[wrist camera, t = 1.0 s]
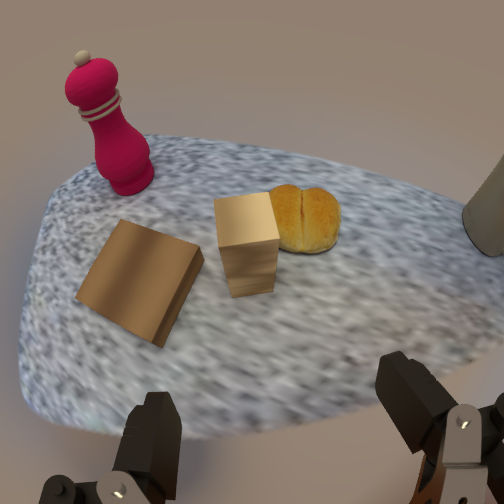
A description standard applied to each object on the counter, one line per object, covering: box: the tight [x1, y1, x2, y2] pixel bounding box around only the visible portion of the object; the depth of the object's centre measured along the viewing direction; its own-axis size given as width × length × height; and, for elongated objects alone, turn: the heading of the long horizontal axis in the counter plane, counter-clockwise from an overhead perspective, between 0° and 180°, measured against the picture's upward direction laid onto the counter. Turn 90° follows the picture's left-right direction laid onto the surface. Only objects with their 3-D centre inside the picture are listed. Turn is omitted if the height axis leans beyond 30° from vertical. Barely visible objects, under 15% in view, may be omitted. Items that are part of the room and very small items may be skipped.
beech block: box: [214, 192, 280, 298], centre depth 23 cm, size 4×4×10 cm
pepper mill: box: [65, 50, 154, 196], centre depth 26 cm, size 7×7×20 cm
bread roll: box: [269, 184, 341, 254], centre depth 29 cm, size 8×9×4 cm
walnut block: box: [75, 219, 204, 348], centre depth 26 cm, size 10×10×3 cm
